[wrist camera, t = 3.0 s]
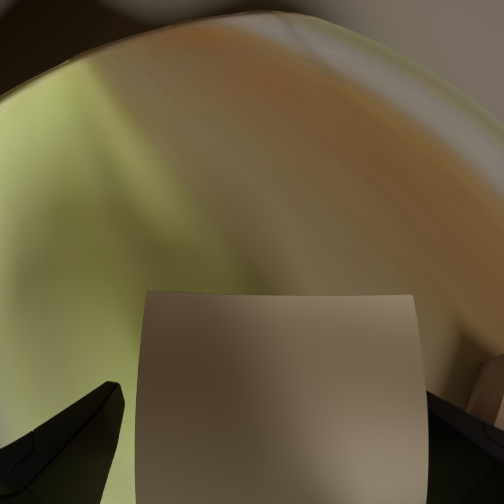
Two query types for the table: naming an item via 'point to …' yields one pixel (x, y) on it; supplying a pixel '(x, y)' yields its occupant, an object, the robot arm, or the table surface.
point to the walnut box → (489, 393)
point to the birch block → (280, 400)
